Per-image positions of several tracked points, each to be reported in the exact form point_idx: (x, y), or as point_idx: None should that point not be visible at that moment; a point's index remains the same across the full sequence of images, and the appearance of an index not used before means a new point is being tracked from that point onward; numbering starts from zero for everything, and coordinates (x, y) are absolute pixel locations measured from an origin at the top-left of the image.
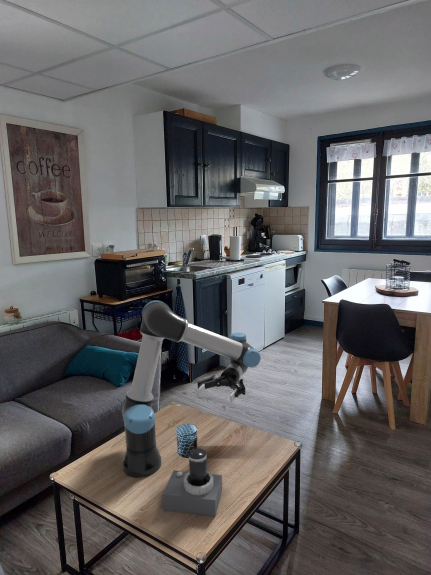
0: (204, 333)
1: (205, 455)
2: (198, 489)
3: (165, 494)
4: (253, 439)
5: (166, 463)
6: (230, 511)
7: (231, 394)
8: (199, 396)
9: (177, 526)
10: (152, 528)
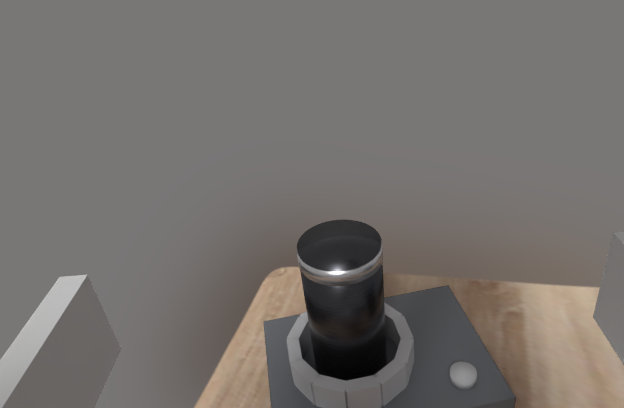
0: None
1: (297, 244)
2: None
3: (439, 288)
4: None
5: None
6: (229, 402)
7: (60, 302)
8: (609, 340)
9: None
10: (430, 281)
